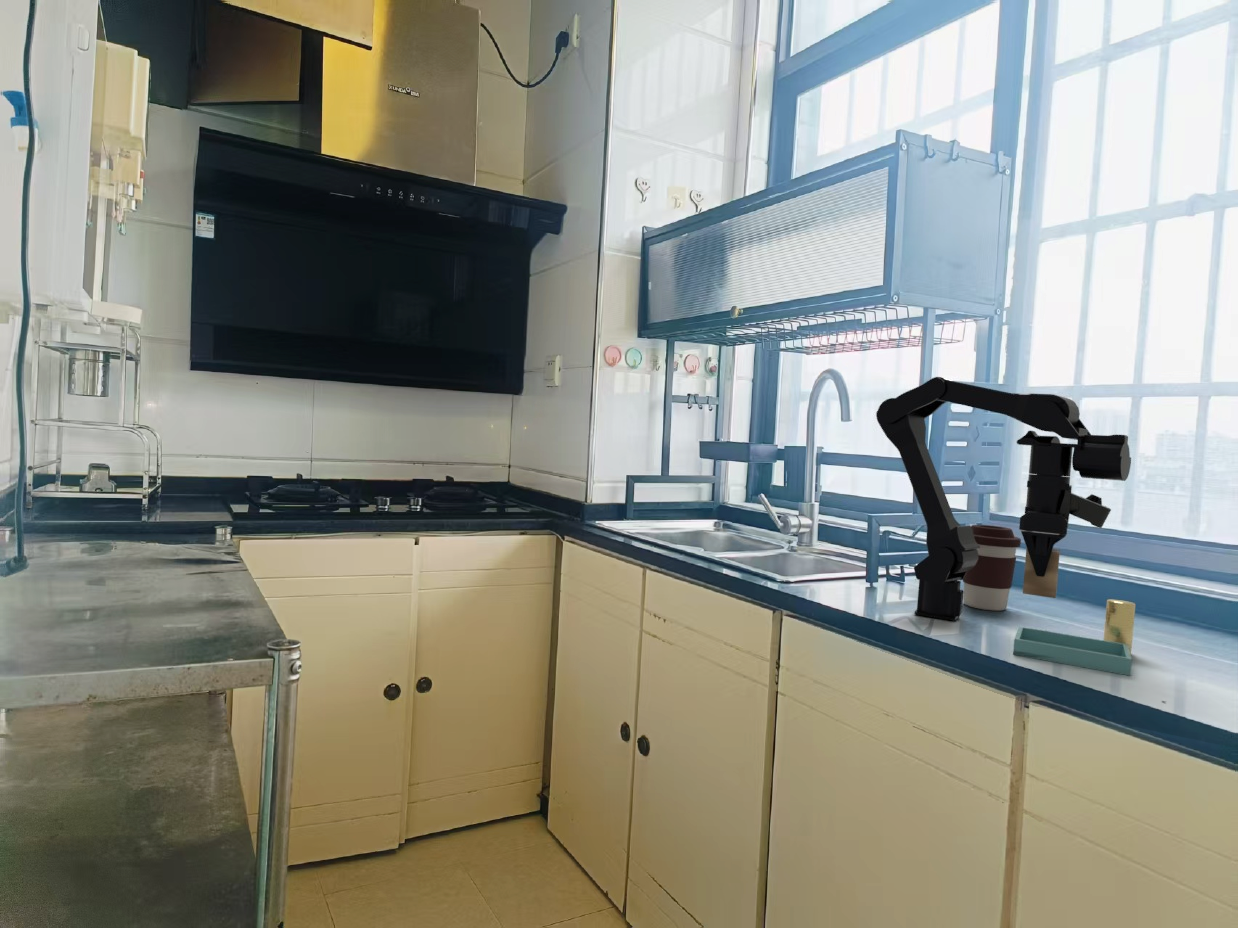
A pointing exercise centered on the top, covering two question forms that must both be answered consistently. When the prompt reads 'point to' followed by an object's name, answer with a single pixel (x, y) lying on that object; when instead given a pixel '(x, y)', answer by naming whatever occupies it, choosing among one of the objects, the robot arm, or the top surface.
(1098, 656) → the parts tray
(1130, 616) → the brass peg
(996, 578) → the coffee cup
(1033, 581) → the walnut block
